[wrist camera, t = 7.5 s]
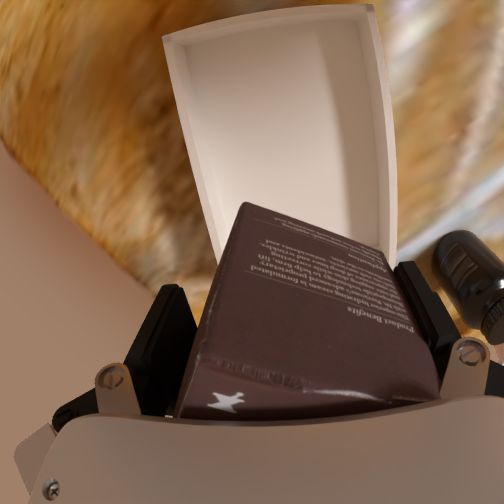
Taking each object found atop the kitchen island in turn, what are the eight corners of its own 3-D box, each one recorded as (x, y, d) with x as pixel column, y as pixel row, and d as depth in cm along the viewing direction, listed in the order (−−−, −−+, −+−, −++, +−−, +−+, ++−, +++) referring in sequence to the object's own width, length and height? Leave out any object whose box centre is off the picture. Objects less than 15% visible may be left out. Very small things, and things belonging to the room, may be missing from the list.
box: (202, 312, 14) (157, 458, 8) (243, 194, 11) (188, 354, 5) (321, 348, 15) (329, 489, 8) (388, 250, 12) (457, 409, 5)
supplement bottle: (435, 290, 31) (476, 365, 21) (423, 244, 29) (475, 319, 18) (481, 265, 29) (532, 331, 19) (474, 217, 27) (538, 280, 16)
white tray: (183, 45, 20) (161, 36, 16) (355, 19, 18) (372, 4, 14) (233, 257, 30) (225, 289, 25) (378, 239, 28) (395, 269, 23)
